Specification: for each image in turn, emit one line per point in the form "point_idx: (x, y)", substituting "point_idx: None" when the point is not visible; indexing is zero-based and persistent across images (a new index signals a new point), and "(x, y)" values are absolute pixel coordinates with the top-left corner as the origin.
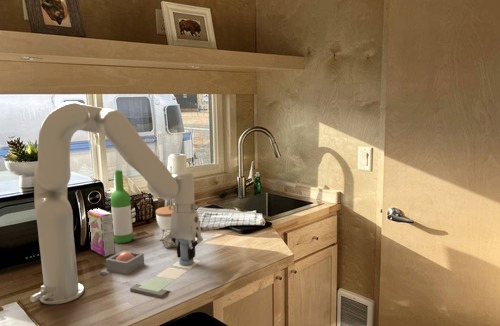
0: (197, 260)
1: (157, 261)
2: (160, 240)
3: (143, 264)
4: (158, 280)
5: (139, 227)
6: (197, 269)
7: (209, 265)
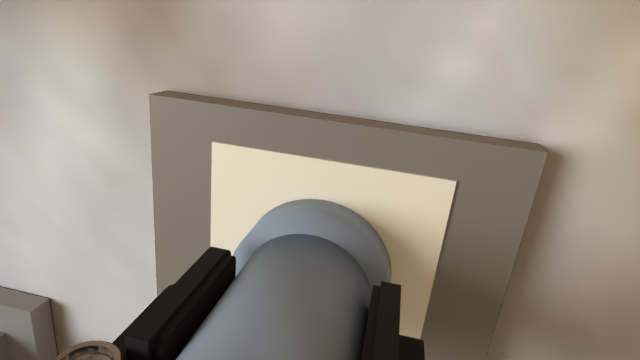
0: (409, 188)
1: (31, 207)
2: None
3: (4, 344)
4: None
5: None
6: None
7: (571, 198)
